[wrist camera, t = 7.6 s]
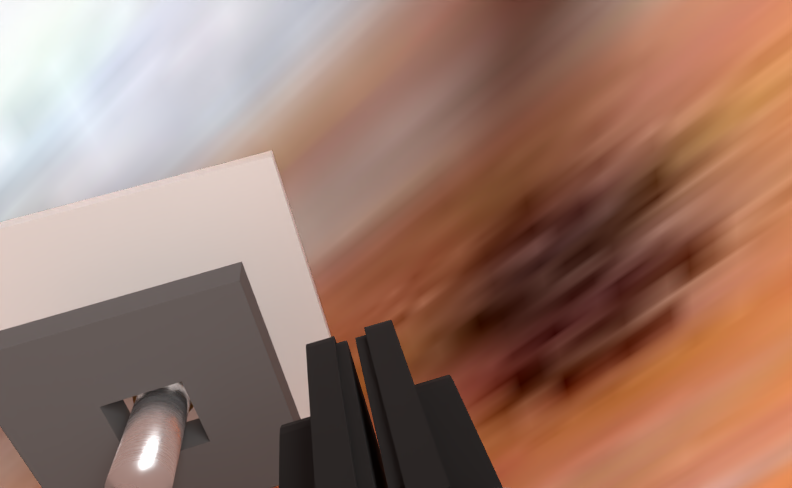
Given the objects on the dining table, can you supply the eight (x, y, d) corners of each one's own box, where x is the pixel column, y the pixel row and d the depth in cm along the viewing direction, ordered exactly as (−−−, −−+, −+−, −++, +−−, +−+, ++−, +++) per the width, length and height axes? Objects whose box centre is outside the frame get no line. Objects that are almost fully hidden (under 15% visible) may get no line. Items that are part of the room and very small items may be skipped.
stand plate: (-39, 232, 34) (-57, 243, 32) (272, 150, 36) (272, 156, 34) (110, 479, 43) (103, 499, 41) (352, 401, 45) (355, 417, 43)
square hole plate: (-19, 335, 28) (-44, 362, 26) (241, 261, 30) (239, 280, 28) (97, 516, 34) (85, 550, 32) (310, 445, 36) (313, 473, 33)
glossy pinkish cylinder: (144, 329, 37) (84, 471, 25) (196, 314, 37) (162, 447, 25) (164, 371, 38) (116, 524, 26) (214, 356, 38) (190, 500, 27)
